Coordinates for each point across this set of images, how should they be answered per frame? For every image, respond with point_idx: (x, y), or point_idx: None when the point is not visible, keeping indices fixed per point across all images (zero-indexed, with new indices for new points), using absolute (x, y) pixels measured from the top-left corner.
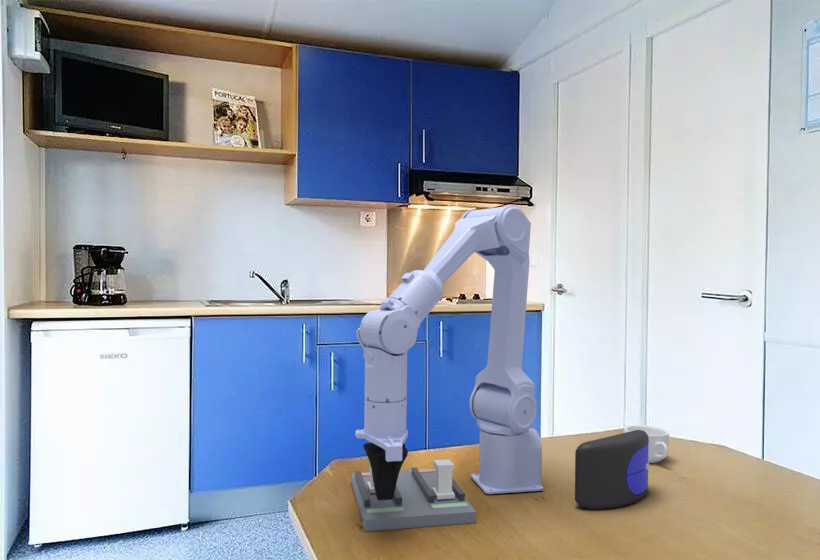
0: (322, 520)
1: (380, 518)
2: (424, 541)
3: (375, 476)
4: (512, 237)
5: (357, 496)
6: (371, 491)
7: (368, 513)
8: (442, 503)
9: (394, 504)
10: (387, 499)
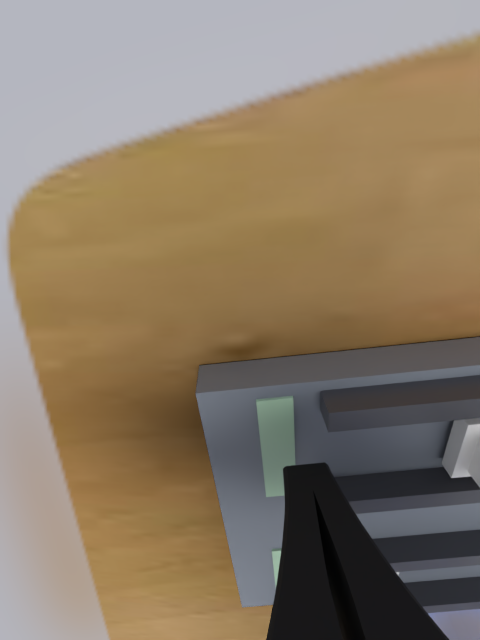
0: (325, 198)
1: (205, 437)
2: (137, 494)
3: (275, 600)
4: None
5: (474, 357)
6: (459, 422)
7: (256, 403)
8: None
9: None
10: (284, 493)
